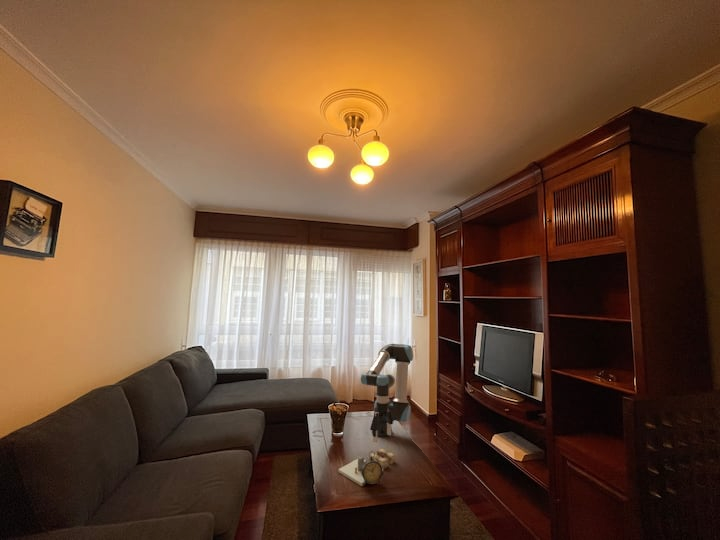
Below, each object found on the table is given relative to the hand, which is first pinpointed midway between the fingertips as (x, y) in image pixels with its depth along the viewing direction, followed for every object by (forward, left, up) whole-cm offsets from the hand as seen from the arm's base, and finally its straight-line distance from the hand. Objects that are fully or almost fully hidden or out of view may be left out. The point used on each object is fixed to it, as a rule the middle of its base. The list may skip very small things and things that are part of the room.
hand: (382, 438), depth 175 cm
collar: (0, 0, -14) cm, 14 cm away
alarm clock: (+20, +9, -14) cm, 26 cm away
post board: (+17, -2, -14) cm, 22 cm away
